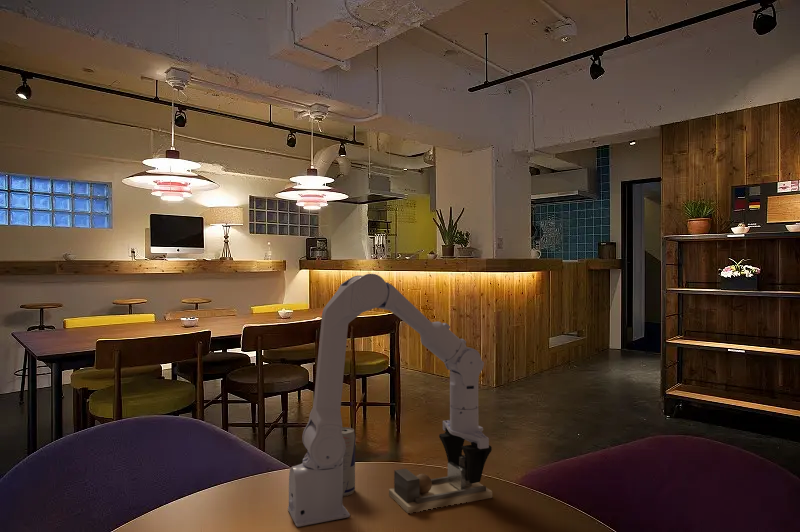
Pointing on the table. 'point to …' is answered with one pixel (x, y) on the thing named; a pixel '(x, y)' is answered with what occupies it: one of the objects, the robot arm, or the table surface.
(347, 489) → the energy drink
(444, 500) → the press base
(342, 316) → the robot arm
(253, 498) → the table surface
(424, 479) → the walnut
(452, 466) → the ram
